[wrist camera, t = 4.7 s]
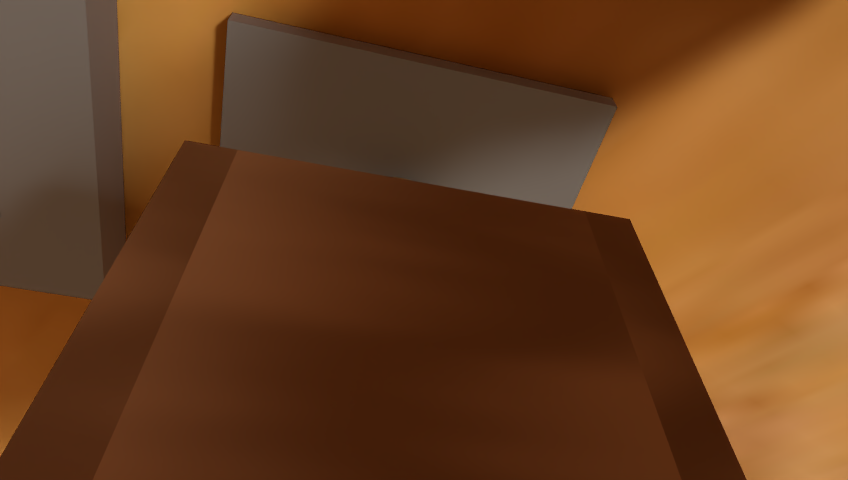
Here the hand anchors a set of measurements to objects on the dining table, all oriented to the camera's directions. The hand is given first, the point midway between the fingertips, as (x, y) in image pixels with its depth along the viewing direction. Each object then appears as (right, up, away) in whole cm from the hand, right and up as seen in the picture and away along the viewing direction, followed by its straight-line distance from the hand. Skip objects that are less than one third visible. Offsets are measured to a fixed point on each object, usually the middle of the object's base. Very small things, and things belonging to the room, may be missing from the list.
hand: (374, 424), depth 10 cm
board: (0, +4, +12) cm, 13 cm away
